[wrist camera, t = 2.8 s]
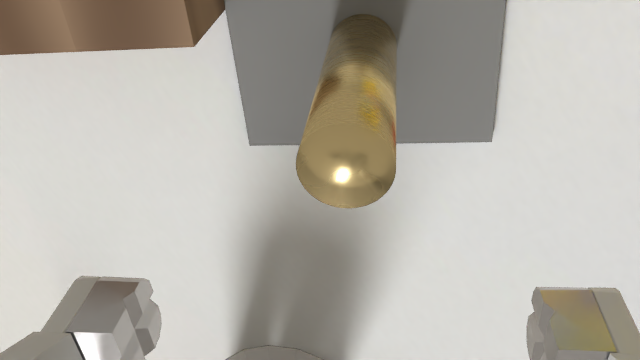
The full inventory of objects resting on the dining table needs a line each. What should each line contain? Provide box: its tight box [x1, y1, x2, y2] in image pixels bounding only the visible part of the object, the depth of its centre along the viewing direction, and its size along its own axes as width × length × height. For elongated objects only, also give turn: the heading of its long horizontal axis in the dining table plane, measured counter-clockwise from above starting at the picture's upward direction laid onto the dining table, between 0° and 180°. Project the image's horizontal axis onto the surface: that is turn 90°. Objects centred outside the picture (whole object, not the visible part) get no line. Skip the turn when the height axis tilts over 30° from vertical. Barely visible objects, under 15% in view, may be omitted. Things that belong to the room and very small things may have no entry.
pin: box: [296, 14, 397, 208], centre depth 21 cm, size 3×3×10 cm
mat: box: [224, 0, 506, 146], centre depth 25 cm, size 12×10×1 cm
